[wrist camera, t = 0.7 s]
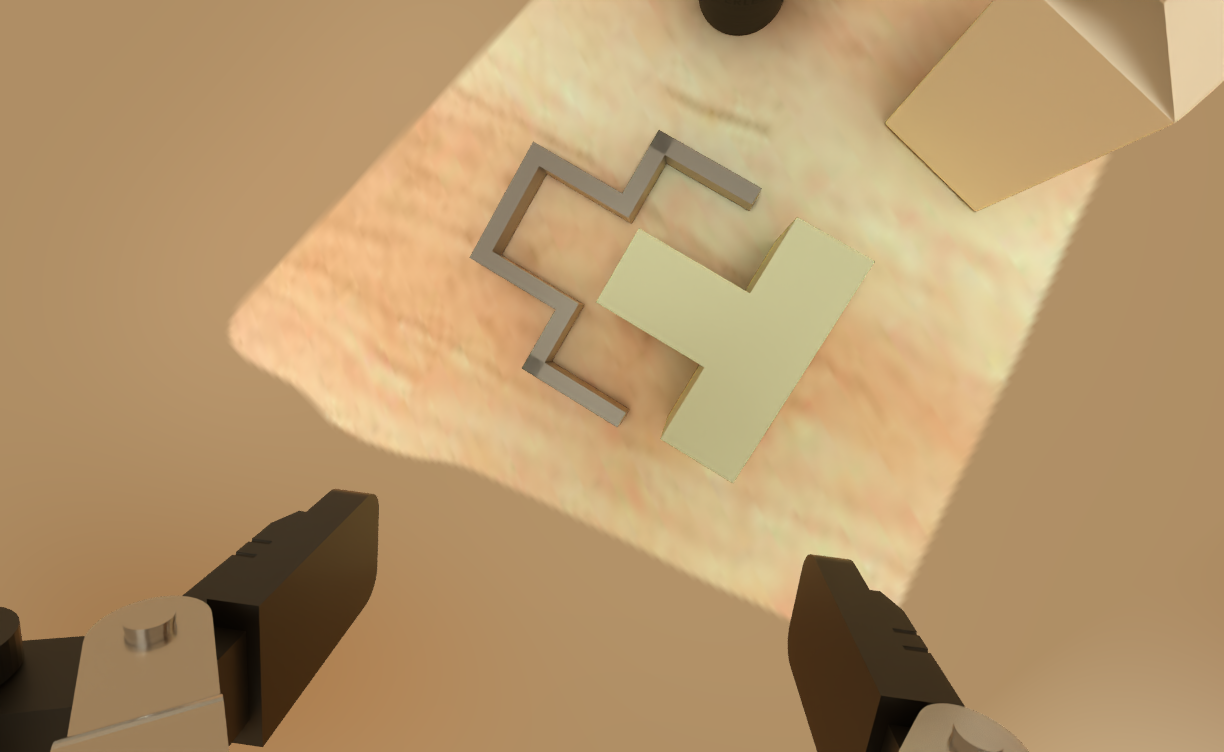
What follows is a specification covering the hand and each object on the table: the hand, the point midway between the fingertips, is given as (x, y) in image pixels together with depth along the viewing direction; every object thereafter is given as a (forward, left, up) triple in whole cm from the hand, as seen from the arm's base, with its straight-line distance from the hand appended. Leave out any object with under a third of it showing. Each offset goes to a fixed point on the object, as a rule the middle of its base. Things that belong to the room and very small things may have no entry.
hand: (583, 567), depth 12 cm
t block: (-6, 0, -27) cm, 27 cm away
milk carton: (-23, +7, -27) cm, 36 cm away
